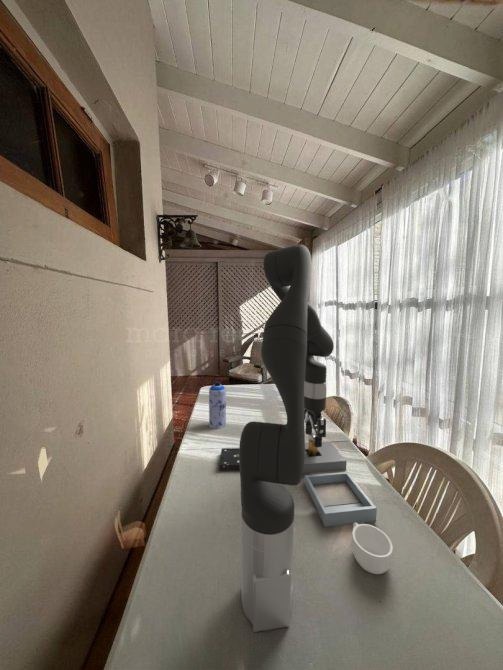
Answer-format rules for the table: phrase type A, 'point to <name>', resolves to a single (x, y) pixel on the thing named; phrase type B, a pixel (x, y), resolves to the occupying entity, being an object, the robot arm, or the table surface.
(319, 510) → the parts tray
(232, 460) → the disk drive
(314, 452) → the fuse
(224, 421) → the aerosol can
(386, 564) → the teacup
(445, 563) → the table surface
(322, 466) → the board
